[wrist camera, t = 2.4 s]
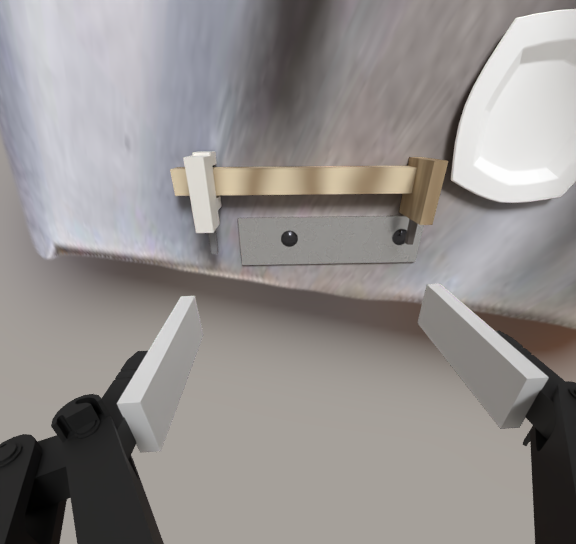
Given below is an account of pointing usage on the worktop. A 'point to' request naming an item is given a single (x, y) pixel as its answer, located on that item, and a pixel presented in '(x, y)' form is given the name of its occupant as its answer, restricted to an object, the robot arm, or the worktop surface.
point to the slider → (203, 194)
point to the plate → (522, 114)
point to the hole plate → (326, 240)
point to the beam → (337, 184)
